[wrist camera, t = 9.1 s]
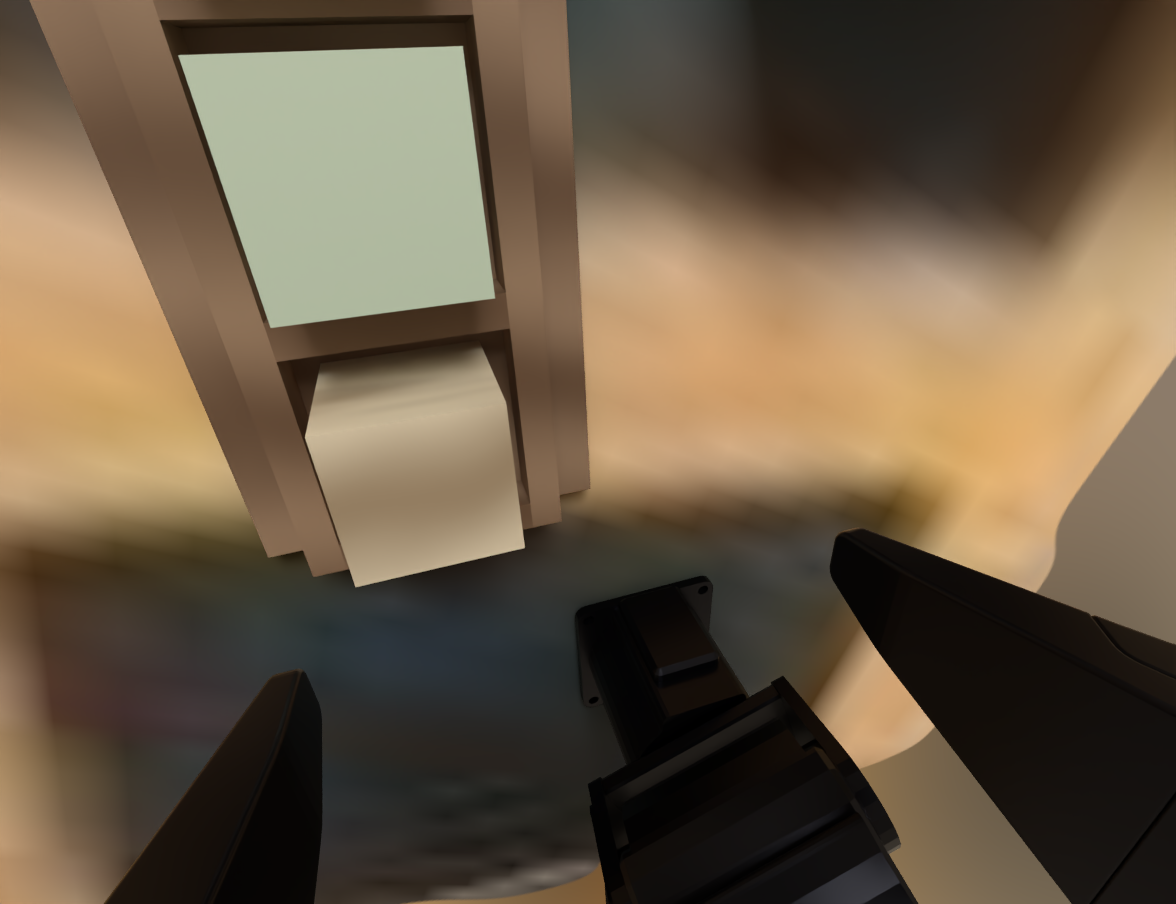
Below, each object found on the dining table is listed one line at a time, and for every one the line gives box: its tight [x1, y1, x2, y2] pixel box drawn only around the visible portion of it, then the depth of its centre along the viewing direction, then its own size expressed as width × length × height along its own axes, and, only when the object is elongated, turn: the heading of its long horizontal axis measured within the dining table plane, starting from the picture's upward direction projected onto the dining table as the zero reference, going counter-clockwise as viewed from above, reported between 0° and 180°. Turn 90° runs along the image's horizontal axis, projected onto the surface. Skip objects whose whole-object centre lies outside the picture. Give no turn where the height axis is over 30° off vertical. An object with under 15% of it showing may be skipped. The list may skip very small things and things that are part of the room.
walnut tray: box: [30, 0, 590, 577], centre depth 15 cm, size 22×11×2 cm, turn 3°
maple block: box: [305, 340, 525, 587], centre depth 17 cm, size 4×4×4 cm
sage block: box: [178, 46, 495, 328], centre depth 13 cm, size 4×4×4 cm
